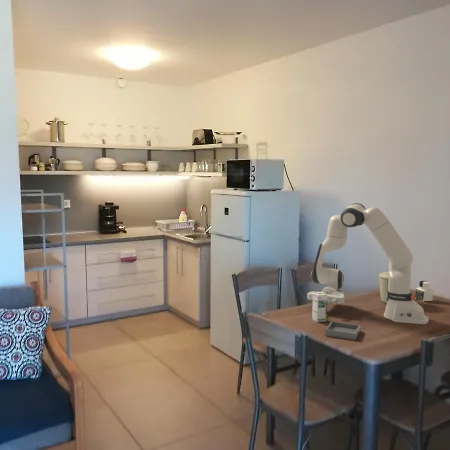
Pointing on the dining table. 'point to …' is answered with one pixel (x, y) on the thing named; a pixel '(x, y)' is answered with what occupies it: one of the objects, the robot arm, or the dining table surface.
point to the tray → (342, 330)
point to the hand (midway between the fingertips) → (322, 301)
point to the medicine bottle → (424, 291)
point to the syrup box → (319, 307)
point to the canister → (384, 285)
